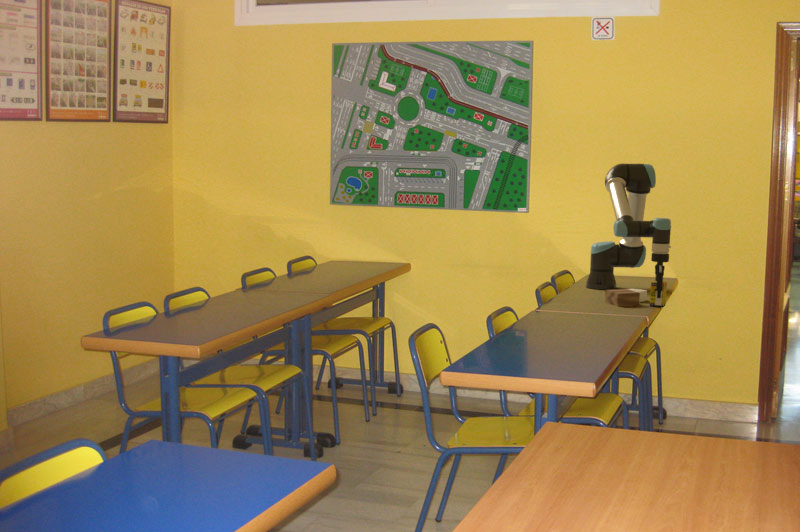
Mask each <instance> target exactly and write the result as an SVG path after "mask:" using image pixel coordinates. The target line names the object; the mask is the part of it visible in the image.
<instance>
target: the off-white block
mask: <svg viewBox="0 0 800 532" xmlns="http://www.w3.org/2000/svg"><path fill="white" fill-rule="evenodd" d="M627 289H628V290H631V291H635V292H638V293H640V298H639V303H641V302H642V303H643V302H646V301H647V299H648V290H647V289H640V288H627Z"/></svg>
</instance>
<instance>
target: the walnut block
mask: <svg viewBox="0 0 800 532" xmlns="http://www.w3.org/2000/svg"><path fill="white" fill-rule="evenodd" d="M628 289H629V288H624V289H604V290H605V291H604V292H605V293H604V295H605V296H604V303H606V304H609V305H612V306H615V307H635V306H637V307H638V306H640V302H639V298H640V293H638V292H635V291H631V290H628Z"/></svg>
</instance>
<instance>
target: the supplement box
mask: <svg viewBox="0 0 800 532" xmlns="http://www.w3.org/2000/svg"><path fill="white" fill-rule="evenodd" d="M656 284H657V281H655V280H653V281H651V282H650V296H649V306H650V307H656V308H657V307H659V308H665V306H666V302H667V286H668V282H667V281H663V290H662V305H655V296H656V291H655V289H656Z"/></svg>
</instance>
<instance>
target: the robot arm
mask: <svg viewBox="0 0 800 532" xmlns="http://www.w3.org/2000/svg"><path fill="white" fill-rule="evenodd" d="M656 179H657V177H656V170H655V167H654V166H653V165H652V164H649V163H618V164H616V165H614V166H613V167H611V168H610V169H609V170H608V172H607V173H606V176H605V177H604V186H605V190H606V191H607V192H608V194H609V197H610V200H611V205H612V208H613V212H614V216H615V220H614V223H613V229H612V230H613V235H614V236H615V237H618V238H621V239H619V242H618V243H619V244H618V243H617V244H616V243H615V241H607V240H606V241H599V242H594V243H593V244H591V247H590V263H589V264H590V266H589V267H590V268H589V269H590V270H589V273H588V274H589V275H588V276H587V279H586V282H585V288H588V289H593V290H617V282H616V278H615V274H614V270H615V269H614V268H631V269H633V268H640V267H642V266H643V264H644V263H645V260H646V258H647V257H646V256H647V253H646V252H647V247H646V246H645V245H644V242H643V241H642V238H652V243H651V252H652V253H651V261H652V262H653V263H656V264H655V265H654V274H655V278H654V279H655V280H654V281H657V284H656V289H655V291H656V296H655V305H662V290H663V282H664V275H665V270H666V269H665V265H664V263H668V262H670V254H669V252H670V249H671V248H672V246H671V245H670V244H671V242H670V241H671V228H672V222H671V221H672V220H671V219H670V218H666V217H656V218H653V220H644V218H645V216H644V215H645V210H646V209H645V208H646V201H647V195H649V194H650V193H651V189H653V188H655V186H656V181H657V180H656ZM627 193H628V194H627Z"/></svg>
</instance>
